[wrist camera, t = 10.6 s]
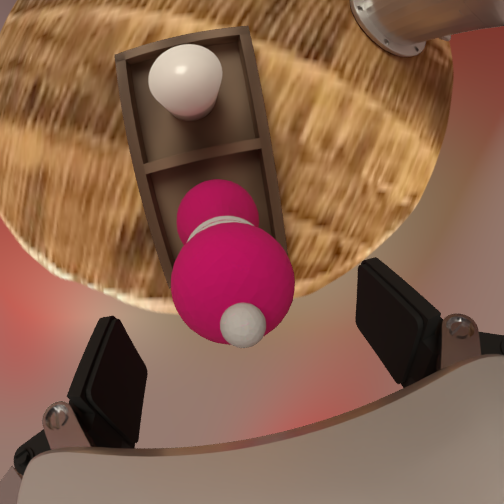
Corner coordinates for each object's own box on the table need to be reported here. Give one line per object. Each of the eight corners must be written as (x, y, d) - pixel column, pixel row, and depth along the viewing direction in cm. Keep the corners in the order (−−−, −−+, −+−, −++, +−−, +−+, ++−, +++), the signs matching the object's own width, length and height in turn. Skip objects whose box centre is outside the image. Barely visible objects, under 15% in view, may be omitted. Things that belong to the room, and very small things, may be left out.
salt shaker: (211, 70, 22) (215, 38, 14) (220, 115, 24) (228, 100, 16) (162, 81, 22) (144, 54, 13) (170, 126, 24) (154, 117, 15)
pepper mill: (219, 254, 30) (253, 414, 11) (166, 214, 27) (112, 351, 9) (263, 204, 28) (370, 314, 10) (211, 159, 26) (236, 195, 7)
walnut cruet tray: (243, 36, 22) (248, 25, 19) (281, 250, 32) (288, 261, 29) (122, 62, 20) (114, 54, 18) (171, 275, 30) (169, 288, 28)
